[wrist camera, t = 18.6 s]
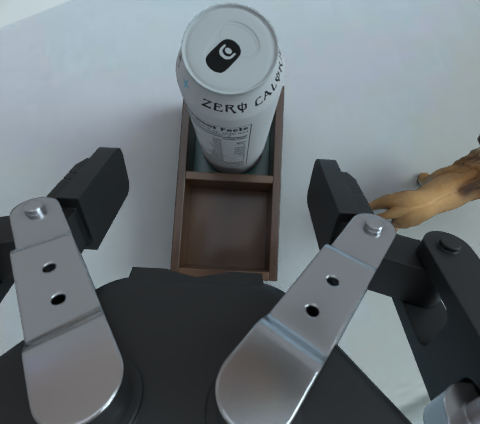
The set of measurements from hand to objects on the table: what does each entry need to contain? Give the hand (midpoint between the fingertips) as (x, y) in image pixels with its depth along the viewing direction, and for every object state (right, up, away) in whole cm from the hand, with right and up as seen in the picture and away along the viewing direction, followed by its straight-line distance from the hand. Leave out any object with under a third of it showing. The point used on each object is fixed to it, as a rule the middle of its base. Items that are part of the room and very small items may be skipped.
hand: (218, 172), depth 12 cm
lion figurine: (+18, 0, +18) cm, 25 cm away
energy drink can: (0, +5, +17) cm, 18 cm away
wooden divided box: (0, +1, +17) cm, 17 cm away
